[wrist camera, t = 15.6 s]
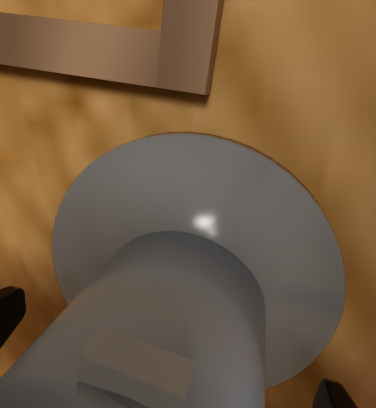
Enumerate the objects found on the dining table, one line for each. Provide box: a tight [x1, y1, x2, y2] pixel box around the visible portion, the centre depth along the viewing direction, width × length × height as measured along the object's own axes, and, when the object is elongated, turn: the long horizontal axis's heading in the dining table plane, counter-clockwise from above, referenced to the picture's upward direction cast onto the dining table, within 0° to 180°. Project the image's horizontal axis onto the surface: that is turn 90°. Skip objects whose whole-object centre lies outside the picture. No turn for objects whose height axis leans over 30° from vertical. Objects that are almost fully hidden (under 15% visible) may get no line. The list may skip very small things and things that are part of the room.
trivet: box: [52, 132, 346, 389], centre depth 12 cm, size 11×11×1 cm
